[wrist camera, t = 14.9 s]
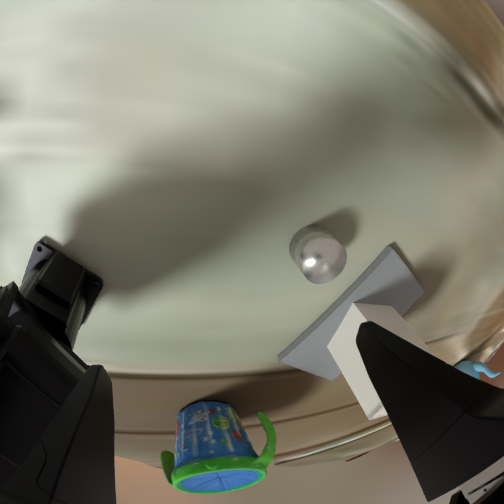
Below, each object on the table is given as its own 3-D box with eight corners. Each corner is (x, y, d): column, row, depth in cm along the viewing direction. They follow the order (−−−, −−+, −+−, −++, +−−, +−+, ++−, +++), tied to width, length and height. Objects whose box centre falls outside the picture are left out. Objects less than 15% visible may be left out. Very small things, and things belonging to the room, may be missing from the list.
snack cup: (241, 371, 29) (266, 453, 21) (276, 406, 35) (300, 469, 26) (133, 414, 30) (135, 486, 21) (181, 441, 35) (190, 500, 27)
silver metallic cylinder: (308, 270, 25) (323, 290, 22) (280, 249, 23) (293, 269, 21) (336, 240, 24) (354, 257, 21) (311, 216, 22) (328, 232, 20)
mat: (329, 376, 34) (331, 380, 33) (277, 356, 29) (279, 361, 29) (421, 288, 30) (424, 291, 30) (388, 245, 26) (393, 248, 25)
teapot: (460, 377, 56) (480, 402, 47) (419, 406, 55) (438, 435, 46) (477, 344, 49) (502, 371, 40) (433, 377, 47) (458, 410, 39)
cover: (326, 346, 29) (369, 420, 21) (352, 302, 27) (409, 376, 18) (366, 345, 31) (408, 408, 23) (391, 305, 29) (444, 367, 21)
